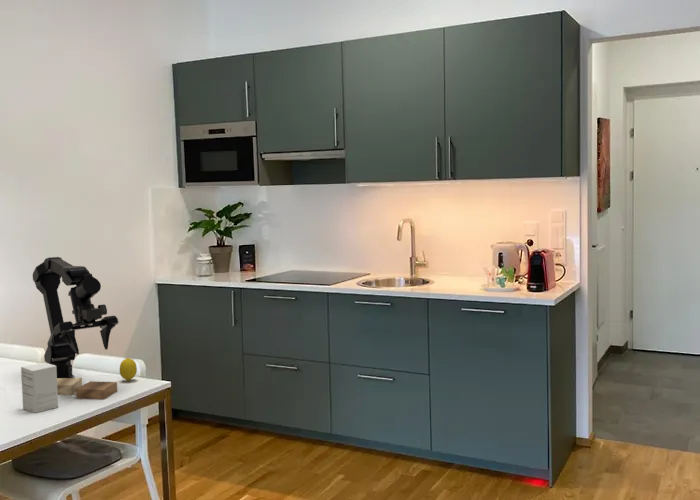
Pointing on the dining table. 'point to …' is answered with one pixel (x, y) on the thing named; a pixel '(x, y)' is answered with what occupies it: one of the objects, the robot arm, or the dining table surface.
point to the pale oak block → (68, 385)
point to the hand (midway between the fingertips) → (92, 351)
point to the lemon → (128, 369)
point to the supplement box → (39, 387)
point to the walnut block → (96, 390)
